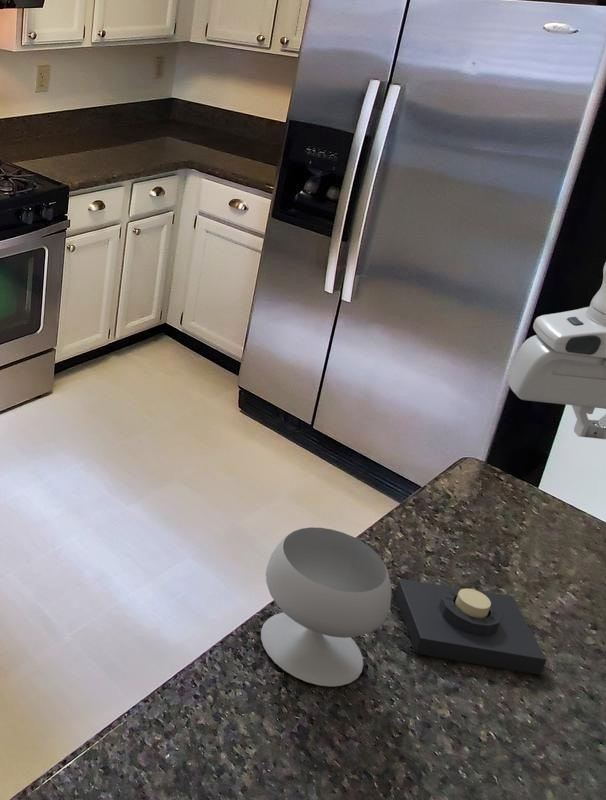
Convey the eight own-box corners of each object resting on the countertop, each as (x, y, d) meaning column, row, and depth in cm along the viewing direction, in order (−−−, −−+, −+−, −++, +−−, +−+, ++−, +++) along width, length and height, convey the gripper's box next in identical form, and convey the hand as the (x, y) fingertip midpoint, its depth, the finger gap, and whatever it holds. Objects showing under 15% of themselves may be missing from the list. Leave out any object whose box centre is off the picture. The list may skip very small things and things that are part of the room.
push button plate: (506, 611, 108) (516, 585, 106) (540, 675, 98) (551, 648, 97) (394, 593, 111) (401, 568, 109) (415, 653, 102) (424, 627, 100)
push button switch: (481, 601, 104) (485, 590, 104) (491, 621, 101) (495, 610, 101) (451, 596, 105) (454, 586, 104) (460, 616, 102) (463, 605, 101)
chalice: (290, 593, 111) (310, 507, 105) (391, 657, 101) (420, 565, 95) (231, 641, 104) (249, 551, 97) (334, 715, 93) (361, 619, 87)
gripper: (718, 333, 93) (673, 433, 99) (521, 315, 98) (489, 412, 104) (753, 356, 88) (703, 461, 93) (542, 337, 92) (507, 438, 98)
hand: (589, 435), depth 98 cm, fingers closed
